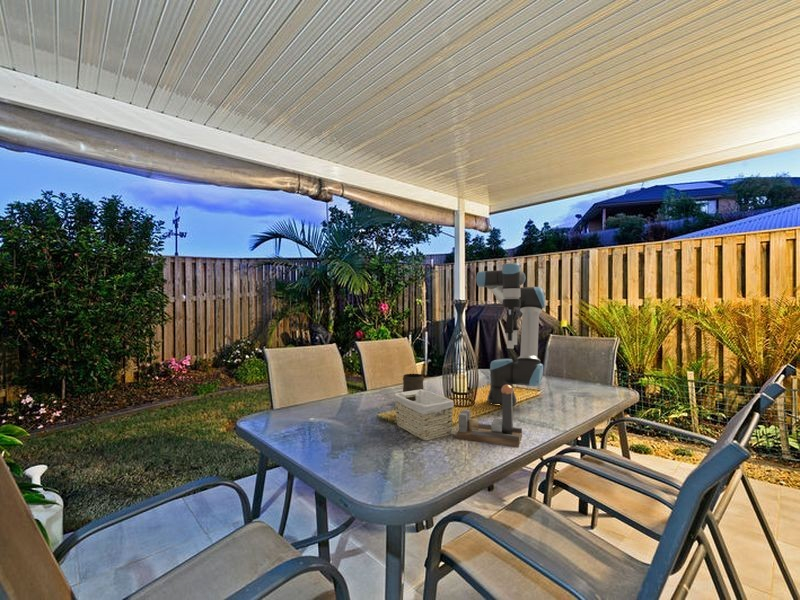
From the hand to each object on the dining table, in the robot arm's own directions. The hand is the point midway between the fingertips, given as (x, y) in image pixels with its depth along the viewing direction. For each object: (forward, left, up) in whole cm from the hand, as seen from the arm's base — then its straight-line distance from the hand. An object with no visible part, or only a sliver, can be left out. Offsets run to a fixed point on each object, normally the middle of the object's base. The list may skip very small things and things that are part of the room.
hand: (512, 346), depth 164 cm
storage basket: (+21, -35, -35) cm, 54 cm away
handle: (+19, -2, -32) cm, 37 cm away
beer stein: (+1, -46, -35) cm, 58 cm away
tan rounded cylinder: (+19, -14, -33) cm, 40 cm away
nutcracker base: (+19, -7, -35) cm, 40 cm away
